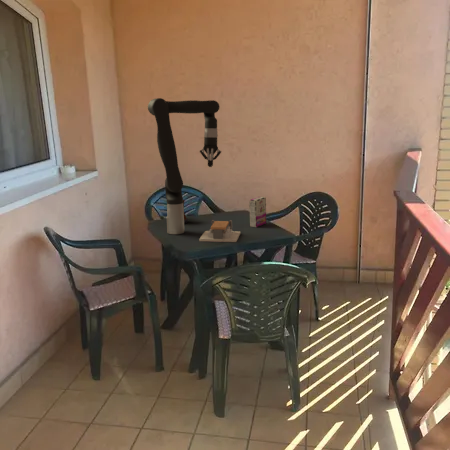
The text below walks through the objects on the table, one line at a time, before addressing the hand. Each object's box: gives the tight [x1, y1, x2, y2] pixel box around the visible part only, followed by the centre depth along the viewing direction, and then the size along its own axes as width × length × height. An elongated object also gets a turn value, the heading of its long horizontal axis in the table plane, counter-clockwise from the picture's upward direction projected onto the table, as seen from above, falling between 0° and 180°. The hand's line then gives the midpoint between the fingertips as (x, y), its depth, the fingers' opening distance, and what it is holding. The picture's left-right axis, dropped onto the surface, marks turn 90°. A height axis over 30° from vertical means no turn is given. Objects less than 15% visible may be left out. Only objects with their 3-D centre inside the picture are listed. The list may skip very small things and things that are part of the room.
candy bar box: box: [248, 196, 267, 228], centre depth 294 cm, size 11×5×16 cm, turn 143°
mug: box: [183, 199, 189, 225], centre depth 308 cm, size 18×12×15 cm, turn 16°
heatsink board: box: [198, 219, 241, 243], centre depth 271 cm, size 20×17×8 cm
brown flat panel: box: [210, 220, 230, 230], centre depth 270 cm, size 8×1×13 cm
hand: (210, 166), depth 286 cm, fingers closed
